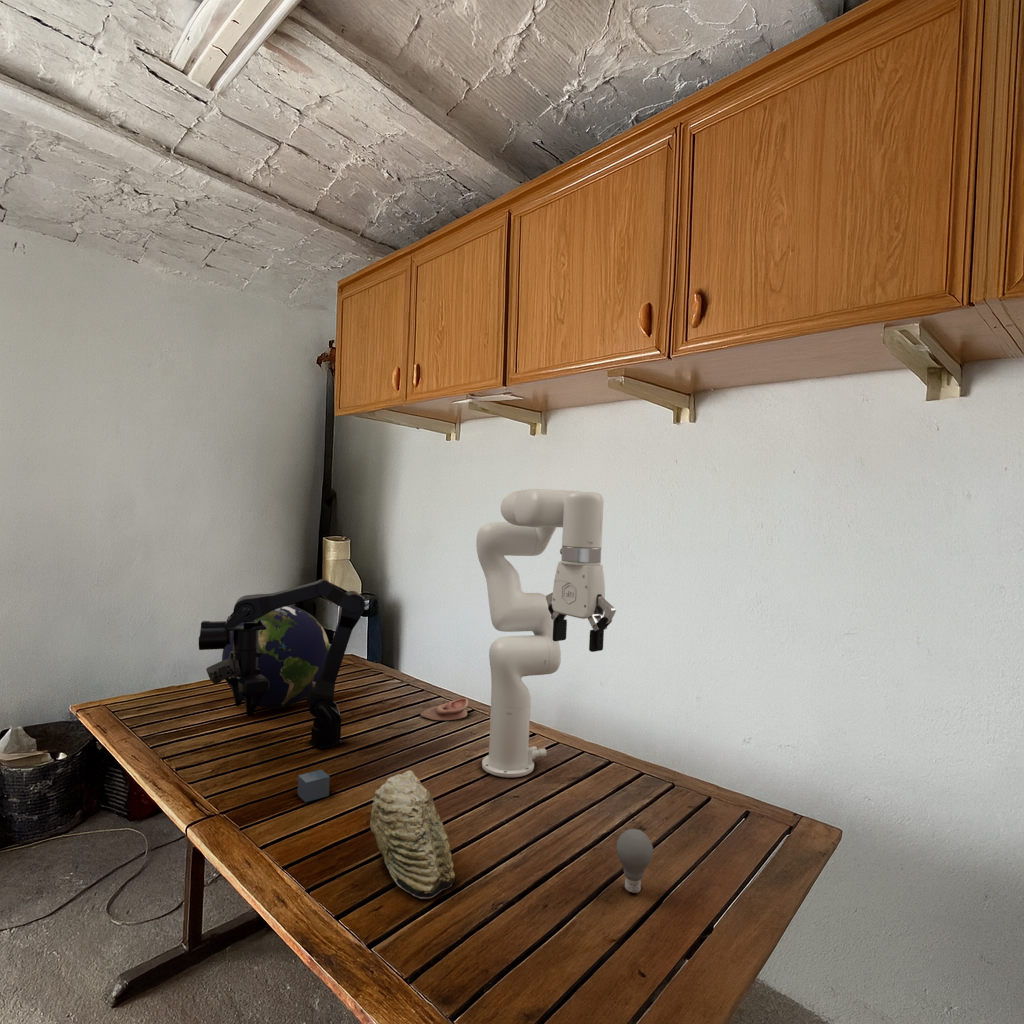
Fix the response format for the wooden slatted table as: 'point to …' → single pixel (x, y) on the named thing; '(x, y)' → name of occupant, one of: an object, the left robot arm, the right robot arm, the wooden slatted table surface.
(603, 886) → the wooden slatted table surface
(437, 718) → the anatomical model
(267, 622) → the globe
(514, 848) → the wooden slatted table surface
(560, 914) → the wooden slatted table surface
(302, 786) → the blue-grey block
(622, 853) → the light bulb
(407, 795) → the fossil
